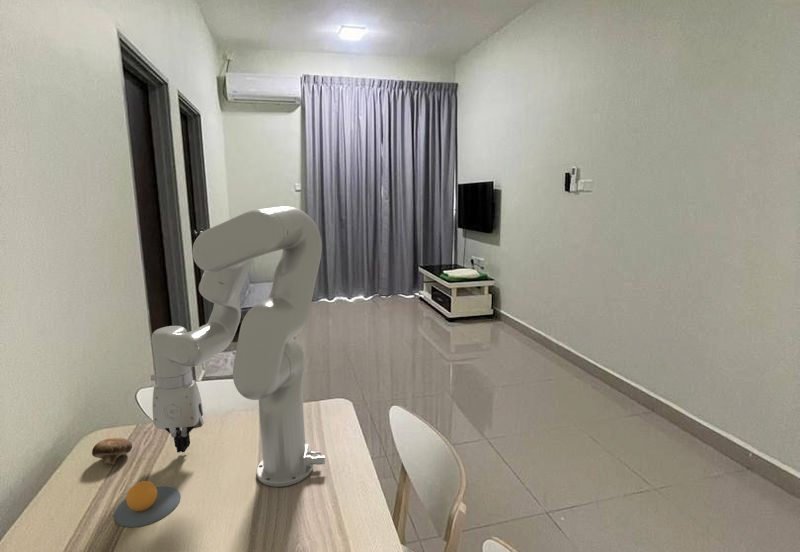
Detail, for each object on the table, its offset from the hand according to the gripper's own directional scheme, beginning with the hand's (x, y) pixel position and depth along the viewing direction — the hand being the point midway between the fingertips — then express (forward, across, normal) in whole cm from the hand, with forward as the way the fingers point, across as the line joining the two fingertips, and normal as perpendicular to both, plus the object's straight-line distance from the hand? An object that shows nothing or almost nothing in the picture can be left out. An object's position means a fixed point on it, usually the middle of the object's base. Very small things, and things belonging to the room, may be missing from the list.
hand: (183, 449), depth 111 cm
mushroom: (+2, -16, -1) cm, 16 cm away
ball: (-1, -1, -19) cm, 19 cm away
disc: (+2, 0, -18) cm, 18 cm away
